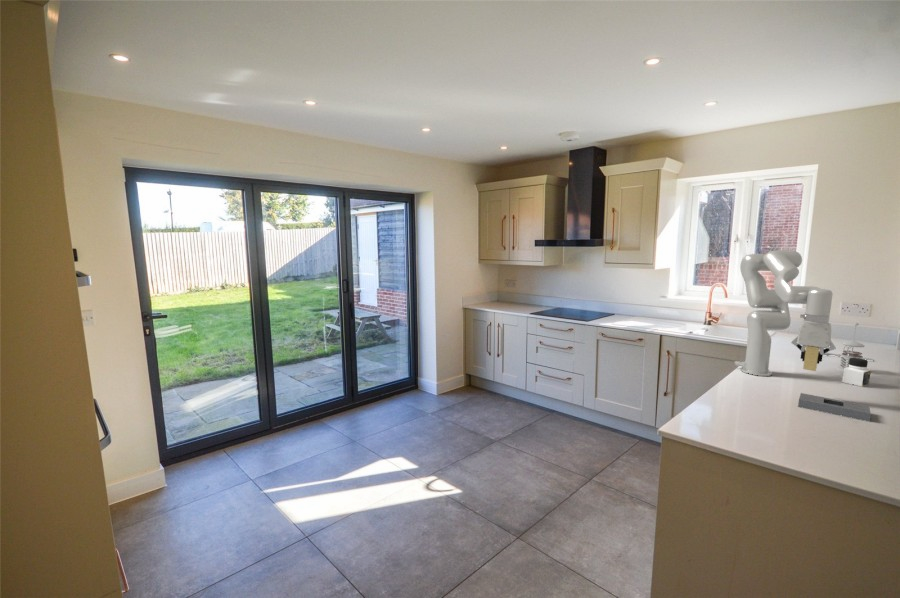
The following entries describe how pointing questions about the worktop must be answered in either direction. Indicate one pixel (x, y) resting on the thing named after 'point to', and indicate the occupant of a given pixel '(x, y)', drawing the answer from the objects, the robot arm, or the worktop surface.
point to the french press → (850, 352)
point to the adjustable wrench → (840, 355)
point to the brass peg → (811, 358)
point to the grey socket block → (835, 406)
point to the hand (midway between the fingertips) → (810, 361)
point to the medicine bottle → (857, 372)
